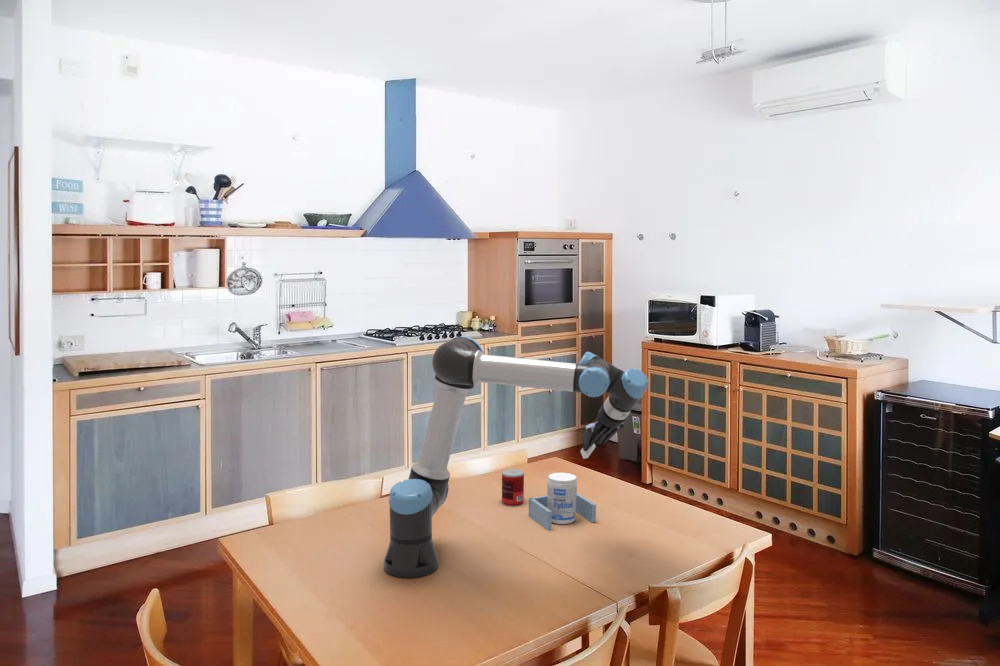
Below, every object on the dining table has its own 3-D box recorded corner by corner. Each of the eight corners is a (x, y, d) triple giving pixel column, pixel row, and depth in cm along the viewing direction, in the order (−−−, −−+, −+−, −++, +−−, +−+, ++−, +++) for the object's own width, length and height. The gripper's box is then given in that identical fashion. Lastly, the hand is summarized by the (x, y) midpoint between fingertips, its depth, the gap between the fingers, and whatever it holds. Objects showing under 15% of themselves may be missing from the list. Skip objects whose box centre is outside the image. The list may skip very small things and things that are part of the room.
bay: (595, 522, 243) (596, 504, 243) (548, 530, 237) (548, 511, 236) (574, 508, 256) (574, 491, 256) (528, 515, 249) (528, 498, 249)
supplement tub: (553, 526, 240) (554, 482, 238) (542, 516, 248) (542, 473, 247) (581, 523, 243) (581, 479, 241) (568, 513, 252) (569, 470, 250)
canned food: (524, 499, 266) (524, 469, 264) (522, 506, 258) (523, 475, 257) (503, 498, 266) (503, 468, 265) (500, 505, 259) (500, 475, 257)
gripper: (600, 423, 208) (570, 467, 224) (639, 419, 213) (606, 462, 230) (590, 401, 212) (561, 446, 229) (628, 397, 217) (597, 442, 234)
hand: (583, 454), depth 229 cm, fingers closed
